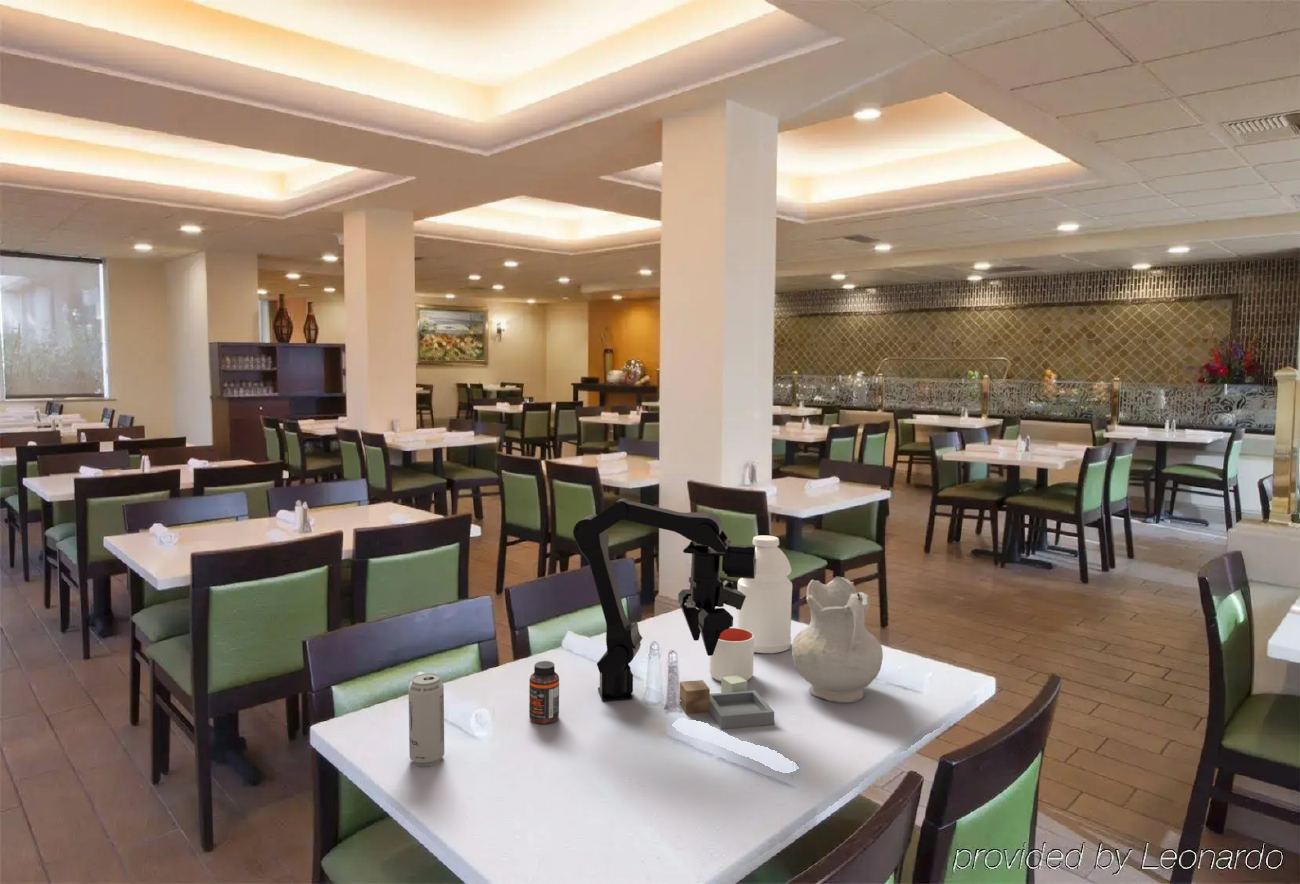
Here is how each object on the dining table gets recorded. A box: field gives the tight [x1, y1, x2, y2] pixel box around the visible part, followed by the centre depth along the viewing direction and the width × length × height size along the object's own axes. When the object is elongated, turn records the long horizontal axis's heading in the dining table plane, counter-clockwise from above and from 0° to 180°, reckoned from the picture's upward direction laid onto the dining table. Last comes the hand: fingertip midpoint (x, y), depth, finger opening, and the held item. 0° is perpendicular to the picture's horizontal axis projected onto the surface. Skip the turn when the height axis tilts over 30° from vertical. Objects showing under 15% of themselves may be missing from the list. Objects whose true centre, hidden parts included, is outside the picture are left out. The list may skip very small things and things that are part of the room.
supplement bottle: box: [528, 660, 560, 725], centre depth 160 cm, size 6×6×11 cm
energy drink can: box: [408, 672, 445, 767], centre depth 142 cm, size 6×6×15 cm
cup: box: [708, 627, 755, 682], centre depth 183 cm, size 10×10×10 cm
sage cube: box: [720, 675, 748, 693], centre depth 172 cm, size 4×4×4 cm
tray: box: [708, 689, 775, 730], centre depth 163 cm, size 11×11×3 cm
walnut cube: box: [679, 679, 711, 715], centre depth 166 cm, size 5×5×5 cm
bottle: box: [736, 534, 793, 654], centre depth 204 cm, size 14×14×28 cm
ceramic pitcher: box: [791, 575, 884, 704], centre depth 173 cm, size 22×20×25 cm
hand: (702, 647), depth 168 cm, fingers open, 9 cm apart
